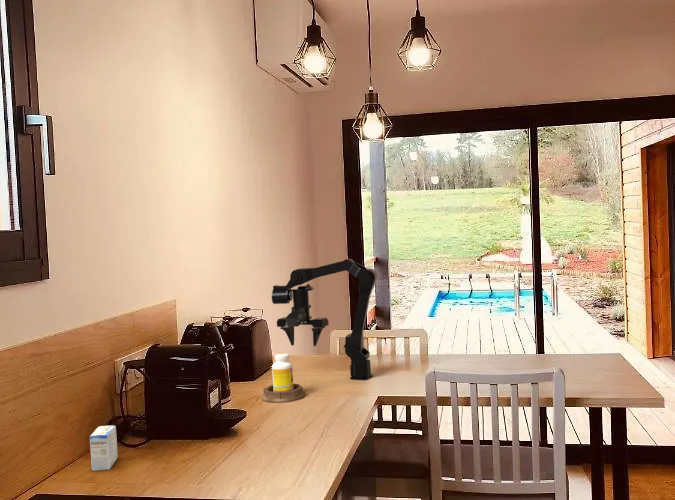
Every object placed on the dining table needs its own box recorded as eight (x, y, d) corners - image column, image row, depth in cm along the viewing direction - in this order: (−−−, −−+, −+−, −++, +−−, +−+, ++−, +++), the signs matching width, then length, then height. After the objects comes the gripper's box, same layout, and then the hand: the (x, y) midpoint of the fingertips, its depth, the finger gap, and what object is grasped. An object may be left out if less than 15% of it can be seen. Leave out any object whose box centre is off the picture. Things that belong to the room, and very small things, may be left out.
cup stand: (312, 392, 225) (311, 383, 225) (291, 404, 212) (291, 394, 212) (275, 390, 231) (275, 381, 231) (253, 401, 218) (253, 392, 218)
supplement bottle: (295, 395, 219) (292, 356, 218) (274, 397, 218) (272, 357, 217) (292, 390, 225) (290, 352, 225) (272, 392, 224) (270, 354, 224)
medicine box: (100, 460, 170) (97, 426, 170) (118, 458, 170) (115, 424, 170) (91, 471, 162) (88, 435, 162) (110, 469, 163) (107, 434, 162)
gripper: (267, 306, 242) (270, 349, 243) (313, 306, 234) (316, 351, 234) (283, 302, 252) (285, 343, 253) (327, 302, 244) (330, 344, 245)
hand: (303, 345), depth 246 cm, fingers open, 9 cm apart
